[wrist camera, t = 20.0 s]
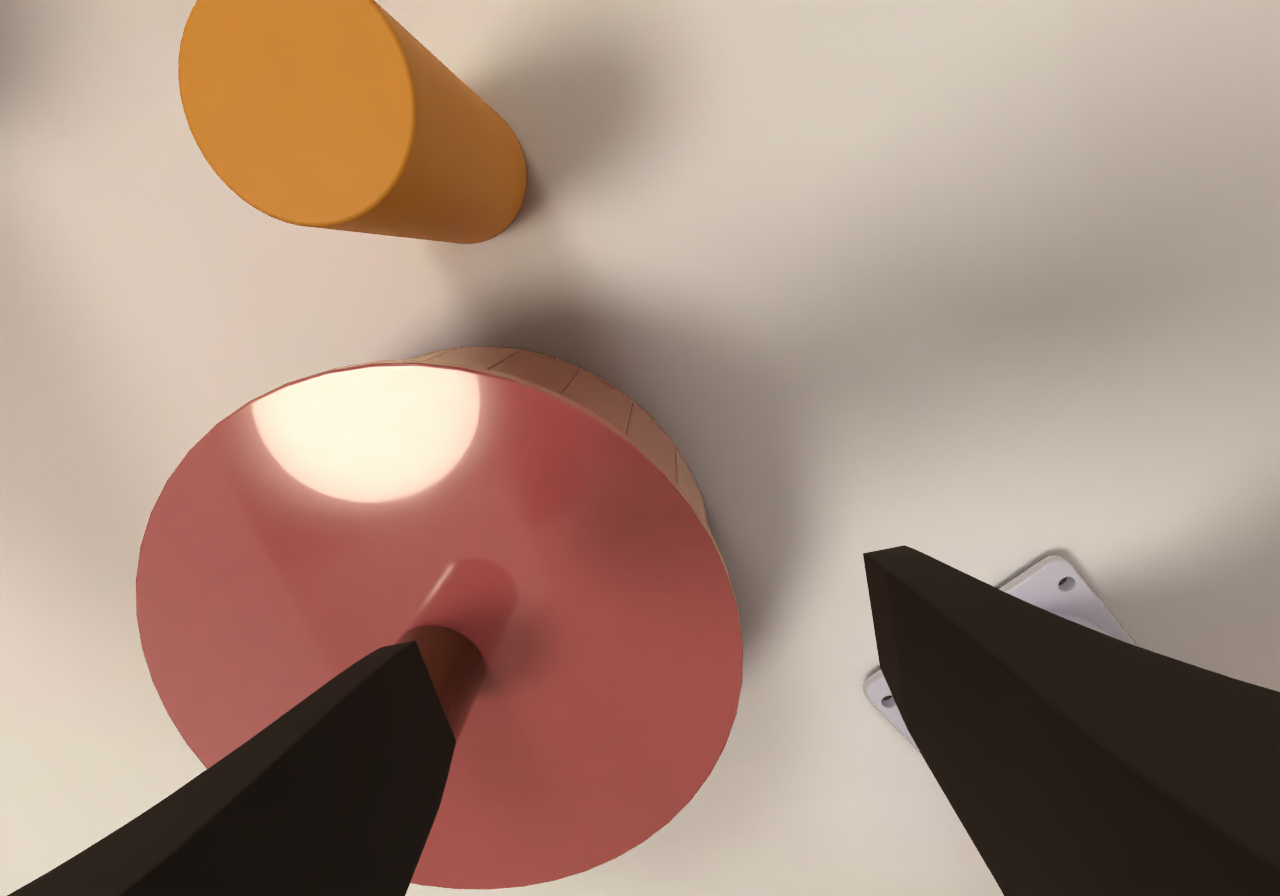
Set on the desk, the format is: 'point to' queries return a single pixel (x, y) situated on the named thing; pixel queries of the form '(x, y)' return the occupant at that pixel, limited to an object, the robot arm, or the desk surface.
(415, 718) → the robot arm
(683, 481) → the pot
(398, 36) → the candle
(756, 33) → the desk surface
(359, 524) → the lid
